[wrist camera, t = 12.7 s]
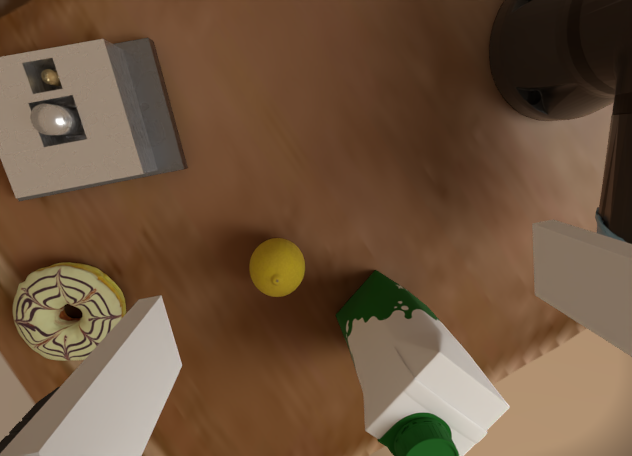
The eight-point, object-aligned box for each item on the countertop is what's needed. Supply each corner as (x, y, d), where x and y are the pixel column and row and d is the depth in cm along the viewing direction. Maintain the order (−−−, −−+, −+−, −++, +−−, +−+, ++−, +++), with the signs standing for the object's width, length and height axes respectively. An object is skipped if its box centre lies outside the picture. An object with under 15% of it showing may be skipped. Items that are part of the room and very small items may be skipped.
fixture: (153, 41, 36) (124, 19, 29) (187, 167, 39) (168, 174, 32) (-20, 72, 35) (-91, 57, 28) (28, 198, 38) (-26, 212, 31)
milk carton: (324, 316, 44) (359, 456, 25) (375, 257, 43) (454, 356, 24) (379, 356, 46) (451, 516, 27) (429, 301, 45) (543, 426, 26)
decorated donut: (6, 304, 41) (-21, 321, 37) (73, 237, 40) (52, 247, 36) (85, 365, 43) (67, 386, 39) (151, 302, 42) (139, 318, 38)
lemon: (310, 266, 43) (317, 295, 35) (264, 285, 43) (261, 318, 35) (290, 222, 41) (293, 241, 33) (243, 242, 41) (235, 266, 33)
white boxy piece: (157, 169, 37) (143, 173, 33) (43, 191, 37) (16, 198, 33) (123, 49, 34) (103, 38, 31) (-1, 71, 34) (-37, 63, 30)
